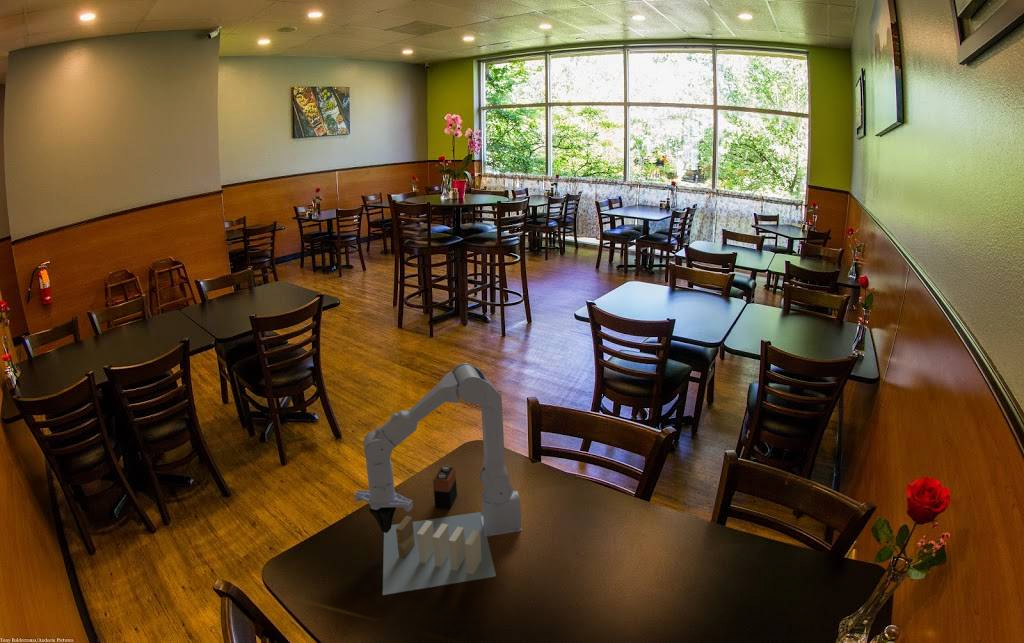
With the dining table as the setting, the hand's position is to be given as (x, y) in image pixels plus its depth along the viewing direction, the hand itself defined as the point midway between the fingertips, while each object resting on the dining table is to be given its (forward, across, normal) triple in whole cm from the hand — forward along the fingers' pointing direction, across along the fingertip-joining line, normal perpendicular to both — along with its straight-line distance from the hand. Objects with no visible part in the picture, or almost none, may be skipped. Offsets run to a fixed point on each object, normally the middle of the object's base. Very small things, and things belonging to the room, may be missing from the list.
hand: (386, 529), depth 140 cm
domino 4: (+5, +22, 0) cm, 23 cm away
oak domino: (+5, +5, 0) cm, 7 cm away
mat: (+5, +12, +3) cm, 13 cm away
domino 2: (+5, +14, 0) cm, 15 cm away
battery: (+6, +5, +21) cm, 22 cm away
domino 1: (+5, +10, 0) cm, 12 cm away
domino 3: (+5, +18, 0) cm, 19 cm away
